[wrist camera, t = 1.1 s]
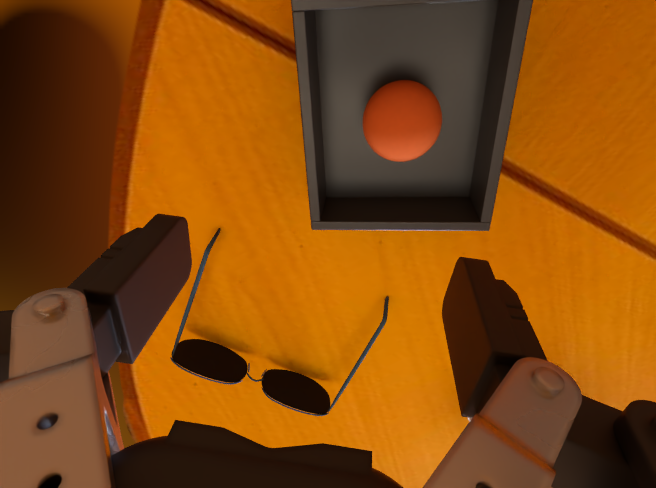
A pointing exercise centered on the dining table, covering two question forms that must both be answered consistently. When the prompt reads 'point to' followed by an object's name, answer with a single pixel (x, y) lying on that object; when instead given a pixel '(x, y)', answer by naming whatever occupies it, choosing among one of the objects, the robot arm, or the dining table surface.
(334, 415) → the dining table surface
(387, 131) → the ball
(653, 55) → the dining table surface
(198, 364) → the sunglasses
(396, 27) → the bin
